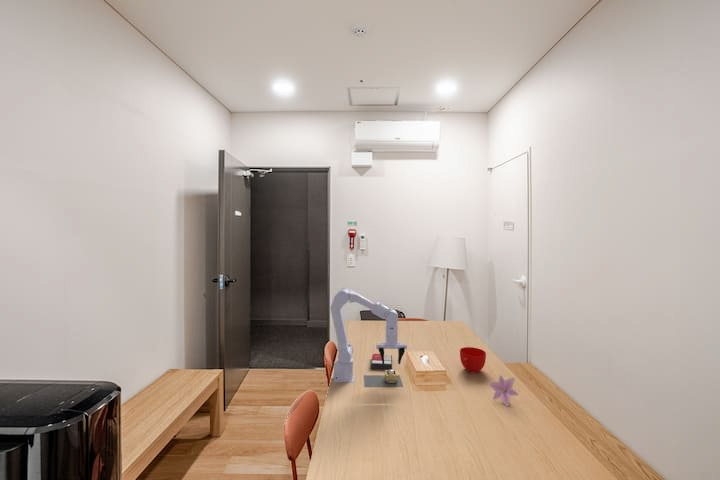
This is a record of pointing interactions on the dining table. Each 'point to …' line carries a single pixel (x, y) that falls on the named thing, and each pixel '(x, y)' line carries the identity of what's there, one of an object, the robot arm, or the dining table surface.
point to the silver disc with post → (390, 374)
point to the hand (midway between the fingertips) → (391, 363)
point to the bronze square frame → (391, 376)
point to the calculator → (378, 364)
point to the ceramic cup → (472, 359)
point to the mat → (380, 381)
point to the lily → (503, 389)
